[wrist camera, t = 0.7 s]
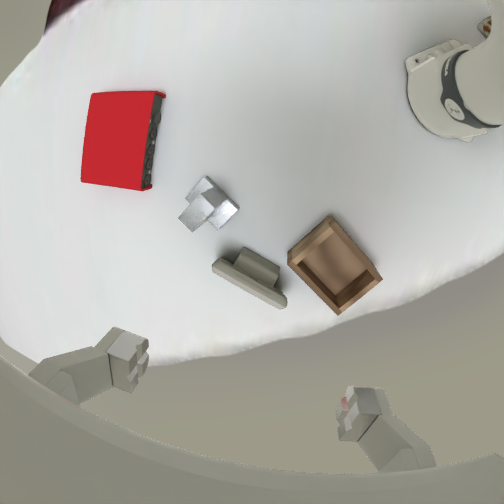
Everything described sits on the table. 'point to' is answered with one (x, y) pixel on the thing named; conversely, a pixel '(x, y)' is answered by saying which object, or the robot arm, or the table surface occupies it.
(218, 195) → the bracket
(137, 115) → the red device housing
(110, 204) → the table surface
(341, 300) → the wooden box
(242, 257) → the digital clock
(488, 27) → the coffee box
